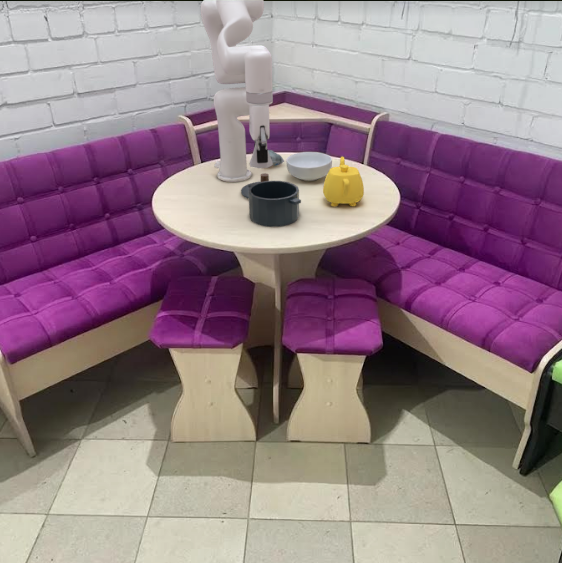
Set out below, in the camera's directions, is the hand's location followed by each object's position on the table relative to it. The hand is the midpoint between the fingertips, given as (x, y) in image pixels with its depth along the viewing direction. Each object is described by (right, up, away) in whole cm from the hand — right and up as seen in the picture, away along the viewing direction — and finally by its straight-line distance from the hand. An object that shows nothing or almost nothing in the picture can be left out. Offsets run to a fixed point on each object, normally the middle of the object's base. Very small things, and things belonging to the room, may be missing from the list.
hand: (261, 158), depth 169 cm
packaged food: (+1, +9, +52) cm, 53 cm away
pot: (+4, -16, +11) cm, 20 cm away
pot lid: (0, -6, +27) cm, 27 cm away
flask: (0, -2, +1) cm, 2 cm away
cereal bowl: (+16, +2, +40) cm, 43 cm away
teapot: (+27, -10, +21) cm, 35 cm away
